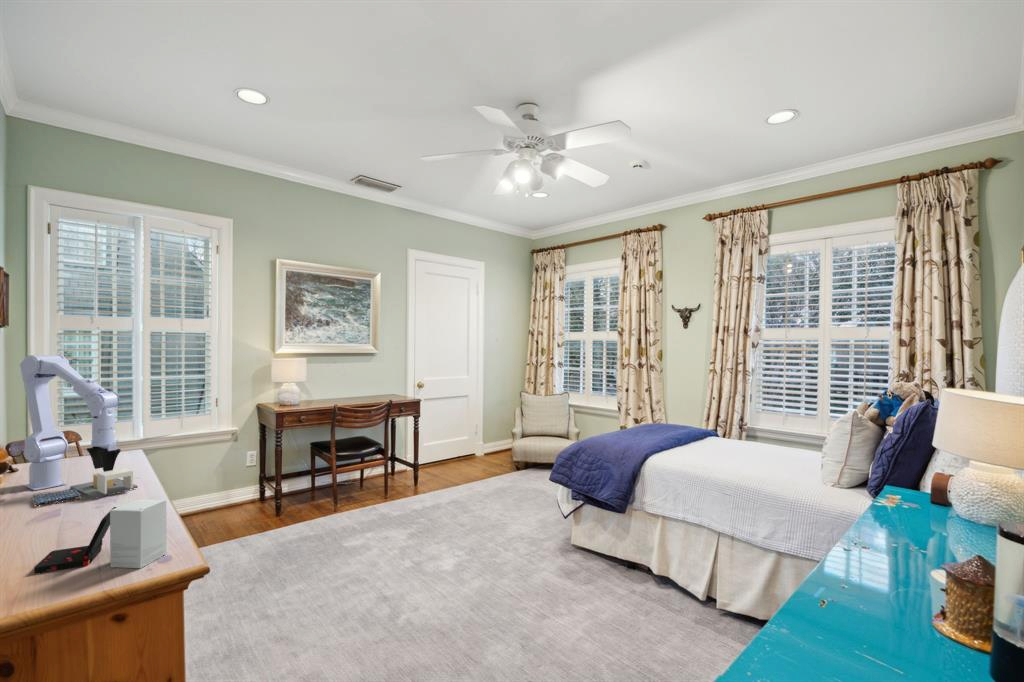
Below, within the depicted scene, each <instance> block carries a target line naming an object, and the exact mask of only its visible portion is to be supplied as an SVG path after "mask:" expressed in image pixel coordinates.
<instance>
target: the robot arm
mask: <svg viewBox="0 0 1024 682" xmlns="http://www.w3.org/2000/svg"><path fill="white" fill-rule="evenodd" d="M19 366H20V367H19V368H20V372H21V378H22V381H23V386H24V391H25V396H26V401H27V406H28V407H27V408H28V413H29V419H30V423H31V428H32V429H31V430H32V433H31V434H30V435H29V436H27V437H26V438H25V439H24V441H23V442H24V448H23V455H24V458H25V459H26V460H27V461H28V462H29V463H30V465H29V468H28V470H29V471H28V474H29V475H28V479H29V481H28V482H29V483H26V484H25V487H26V488H28V489H30V490H32V491H38V490H39V491H40V490H44V489H49V488H55V487H60V486H65V485H67V483H66V482H65V481H62V458H64V457H65V454H67V452H68V451H69V443H68V441H67V438H66V437H65V433H64V432H63V431H60V430H58V429H57V428H56V425H55V421H54V417H53V411H52V404H51V399H50V394H49V388H48V383H49V382H50V381H51V380H54V379H55V378H56V377H59V378H60V379H62V380H64V381H65V382H66V383H68V384H70V385H71V386H73V388H72V390H73V392H74V393H76V395H78V396H79V397H81V398H82V399H83V400H84V401H85V402H86V405H87V408H88V409H89V414H90V416H91V441H90V446H91V447H88V448H86V451H87V452H88V453H89V456H90V458H91V461H92V465H93V467H94V469H95V470H98V469H102V472H106V471H112V470H114V467H115V463H116V460H117V457H118V456H119V454H120V453H121V450H122V449H121V448H117V443H120V439H116V431H115V430H116V421H115V420H116V408H117V407H118V406H119V405H120V402H121V400H120V396H119V394H117V391H113V390H112V391H111V390H110V391H109V390H106V389H105V387H103V386H101V385H99V384H98V383H97V382H96V380H95V379H94V378H90V377H89V378H88V377H87V378H84V377H83V376H82V375H81V374H80V373H78V371H77V370H76V369H75V368H74V367H72V366H71V365H70V361H69V359H67V358H66V357H65V356H64V355H62V354H48V355H45V354H44V355H33V354H31V355H27V356H25V357H24V358H23V360H22V361H21V363H20V364H19Z"/></svg>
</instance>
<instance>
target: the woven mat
mask: <svg viewBox="0 0 1024 682" xmlns="http://www.w3.org/2000/svg"><path fill="white" fill-rule="evenodd" d="M81 499H82V497H81V494H79V493H78V491H76V490H74V489H72V490H71V489H70V488H69V489H68V490H67V489H66V490H61V491H55V492H51V493H50V492H48V493H45V494H44V495H43V494H42V493H41V494H37V495H33V496H32V497H31V500H32V501H33V502H32V501H31V503H32V504H33V508H35V507H38V508H43V507H47V505H48V506H53V505H52V504H54V505H58V504H63V503H62V501H63V502H64V503H68V500H69V502H73V501H72V500H75V501H79V500H81ZM57 503H58V504H57ZM34 505H36V506H34ZM39 505H41V507H39ZM42 506H43V507H42Z"/></svg>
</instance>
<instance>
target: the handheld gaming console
mask: <svg viewBox="0 0 1024 682" xmlns="http://www.w3.org/2000/svg"><path fill="white" fill-rule="evenodd" d="M117 507H118V506H117ZM117 507H116V506H113V507H112V508H111V509H110V510H112V509H115V508H117ZM109 527H110V511H109V512H107V514H105V516H104V517H103V518H101V521H100V522H99V524H98V526H97V528H96V530H95V532H94V534H93V536H92V538H91V540H90V542H89V544H88V545H83V546H77V547H69V548H62V549H56V550H52V551H50V552H49V553H48V554H47V555H46V556H44V557H43V558H42V560H39V562H38V563H37V564H36V565H35V566H34V569H33V571H34V572H33V574H34V573H40V574H45V572H46V573H50V572H51V573H52V572H58V570H59V571H65V570H70V569H75V568H82V567H86V566H89V565H90V564H91V563H93V561H94V560H95V559H96V558H97V557H98V555H99V554H100V553H101V552H102V549H103V539H104V538H105V536H106V534H107V532H108V529H110V528H109ZM43 572H44V573H43Z"/></svg>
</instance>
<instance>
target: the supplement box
mask: <svg viewBox="0 0 1024 682" xmlns="http://www.w3.org/2000/svg"><path fill="white" fill-rule="evenodd" d="M111 509H112V508H111ZM111 509H110V510H109V512H110V526H109V527H110V528H109V533H110V534H109V537H110V539H109V540H110V543H109V545H110V546H109V547H110V553H109V554H110V557H109V559H110V568H123V569H126V568H127V569H128V568H129V569H142V568H143V567H146V566H147V565H149V564H151V563H153V562H155V561H157V560H158V558H159V559H160V558H162V557H164V556H166V555H167V550H168V549H167V548H168V547H167V539H168V537H167V500H166V499H135V500H133V501H130V502H128V503H125V504H122V505H120V506H117V508H115V509H112V510H111ZM165 554H166V555H165ZM163 555H164V556H163ZM161 556H162V557H161ZM156 559H157V560H156ZM154 560H155V561H154Z"/></svg>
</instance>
